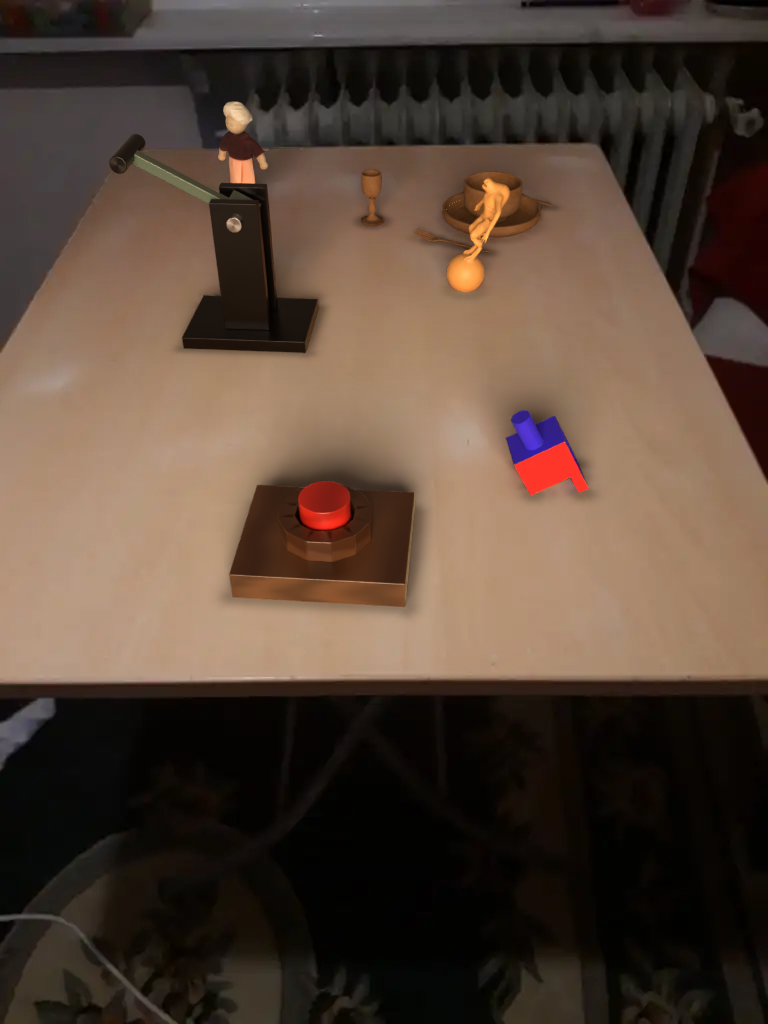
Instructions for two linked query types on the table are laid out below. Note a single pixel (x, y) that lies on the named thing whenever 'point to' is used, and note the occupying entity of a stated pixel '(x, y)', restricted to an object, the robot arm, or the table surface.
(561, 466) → the toy building block
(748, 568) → the table surface
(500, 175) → the place setting
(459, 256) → the figurine
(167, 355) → the table surface
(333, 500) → the button
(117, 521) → the table surface
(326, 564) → the button block
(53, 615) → the table surface
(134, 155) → the lever
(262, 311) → the bracket
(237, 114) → the grandmother figurine
